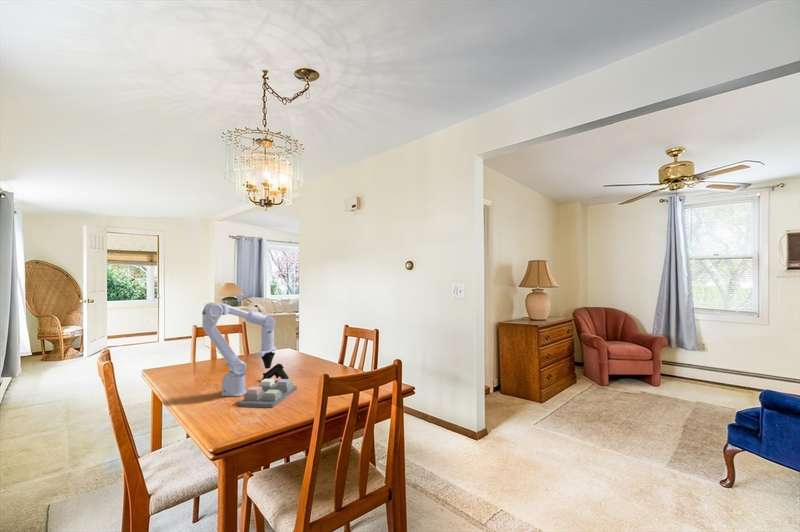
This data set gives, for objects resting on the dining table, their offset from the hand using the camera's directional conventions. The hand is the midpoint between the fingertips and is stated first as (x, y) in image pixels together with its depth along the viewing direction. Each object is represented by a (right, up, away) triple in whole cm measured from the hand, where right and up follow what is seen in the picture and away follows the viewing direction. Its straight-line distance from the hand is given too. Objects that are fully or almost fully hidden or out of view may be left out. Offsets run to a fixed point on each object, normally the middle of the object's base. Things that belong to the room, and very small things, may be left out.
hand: (267, 368), depth 179 cm
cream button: (+3, -6, -7) cm, 10 cm away
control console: (+6, -9, -14) cm, 18 cm away
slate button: (+11, -6, -8) cm, 15 cm away
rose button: (+1, -6, -19) cm, 20 cm away
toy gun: (0, -10, +12) cm, 16 cm away
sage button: (+9, -7, -20) cm, 23 cm away
